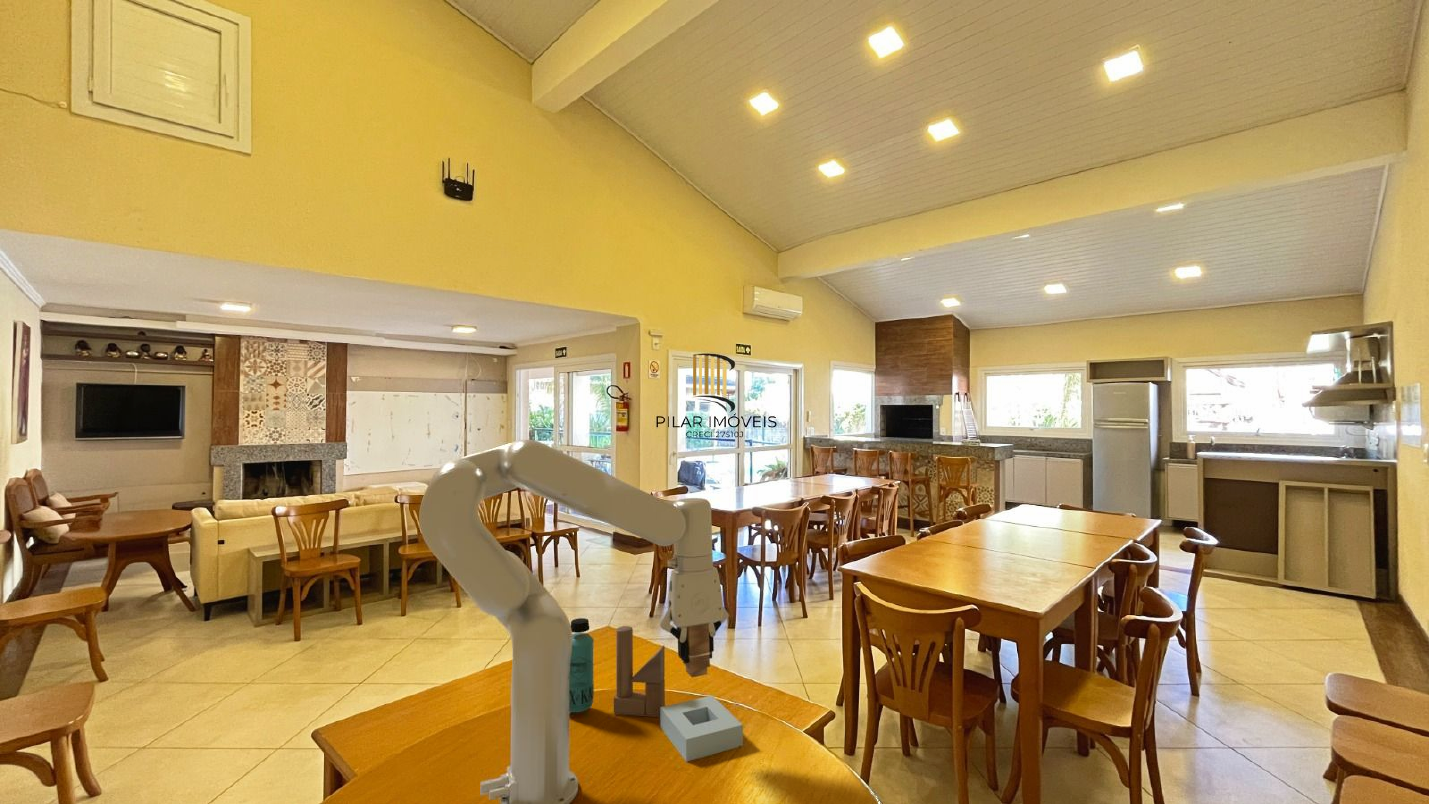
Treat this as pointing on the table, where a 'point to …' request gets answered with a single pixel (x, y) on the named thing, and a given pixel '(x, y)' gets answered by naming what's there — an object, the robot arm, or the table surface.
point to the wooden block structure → (638, 679)
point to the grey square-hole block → (701, 727)
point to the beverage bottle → (581, 667)
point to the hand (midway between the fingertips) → (696, 657)
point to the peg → (698, 650)
